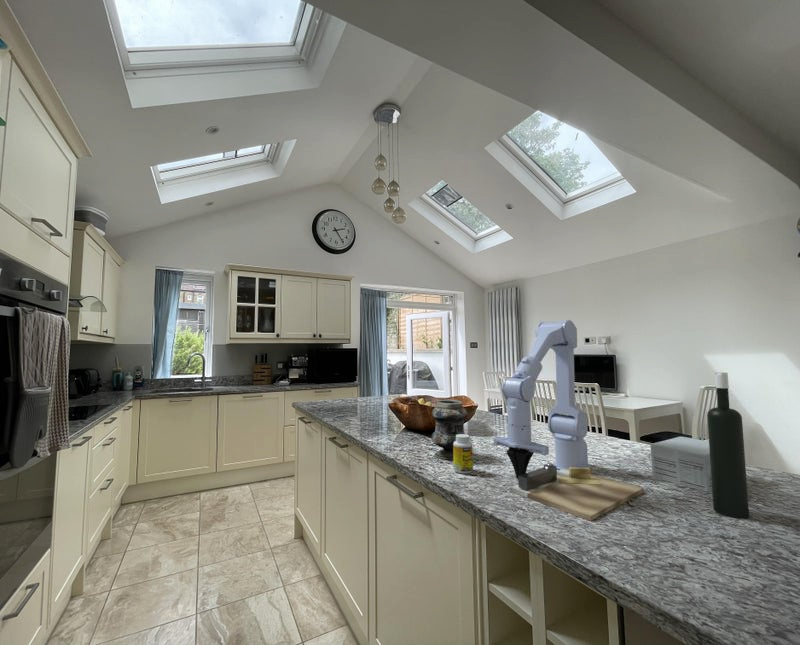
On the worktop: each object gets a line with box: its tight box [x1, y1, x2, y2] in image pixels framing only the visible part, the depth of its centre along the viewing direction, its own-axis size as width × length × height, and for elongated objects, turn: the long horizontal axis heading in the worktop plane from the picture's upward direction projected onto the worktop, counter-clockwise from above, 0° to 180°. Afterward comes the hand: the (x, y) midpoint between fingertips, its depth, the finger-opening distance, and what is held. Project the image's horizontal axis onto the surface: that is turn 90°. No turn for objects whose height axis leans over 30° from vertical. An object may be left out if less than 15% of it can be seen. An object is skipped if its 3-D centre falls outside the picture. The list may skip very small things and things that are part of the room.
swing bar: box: [517, 462, 558, 490], centre depth 95 cm, size 14×3×4 cm, turn 126°
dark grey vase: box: [431, 399, 468, 461], centre depth 125 cm, size 12×12×18 cm
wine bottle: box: [706, 371, 750, 520], centre depth 81 cm, size 6×6×30 cm
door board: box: [509, 467, 645, 522], centre depth 92 cm, size 26×20×4 cm
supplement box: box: [650, 436, 712, 493], centre depth 101 cm, size 17×13×9 cm
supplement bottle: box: [453, 433, 474, 475], centre depth 108 cm, size 6×6×10 cm
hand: (520, 478), depth 95 cm, fingers closed
